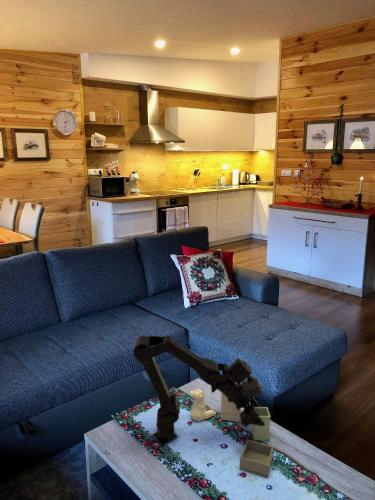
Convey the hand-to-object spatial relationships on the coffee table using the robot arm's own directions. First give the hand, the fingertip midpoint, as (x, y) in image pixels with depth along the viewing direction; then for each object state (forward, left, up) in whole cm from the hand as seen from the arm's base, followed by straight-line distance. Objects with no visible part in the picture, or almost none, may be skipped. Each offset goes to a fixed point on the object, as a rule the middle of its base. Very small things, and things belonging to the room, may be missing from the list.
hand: (261, 416), depth 142 cm
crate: (+8, -11, -8) cm, 16 cm away
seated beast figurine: (-22, -10, -8) cm, 25 cm away
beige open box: (0, 0, -8) cm, 8 cm away
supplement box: (-15, -1, -8) cm, 17 cm away
